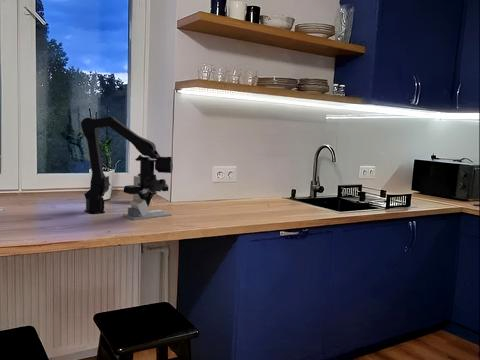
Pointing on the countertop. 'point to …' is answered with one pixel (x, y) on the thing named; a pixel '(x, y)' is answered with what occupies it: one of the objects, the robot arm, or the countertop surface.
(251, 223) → the countertop surface
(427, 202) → the countertop surface
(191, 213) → the countertop surface
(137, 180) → the supplement box
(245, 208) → the countertop surface
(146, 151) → the robot arm
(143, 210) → the module
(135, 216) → the rail board
